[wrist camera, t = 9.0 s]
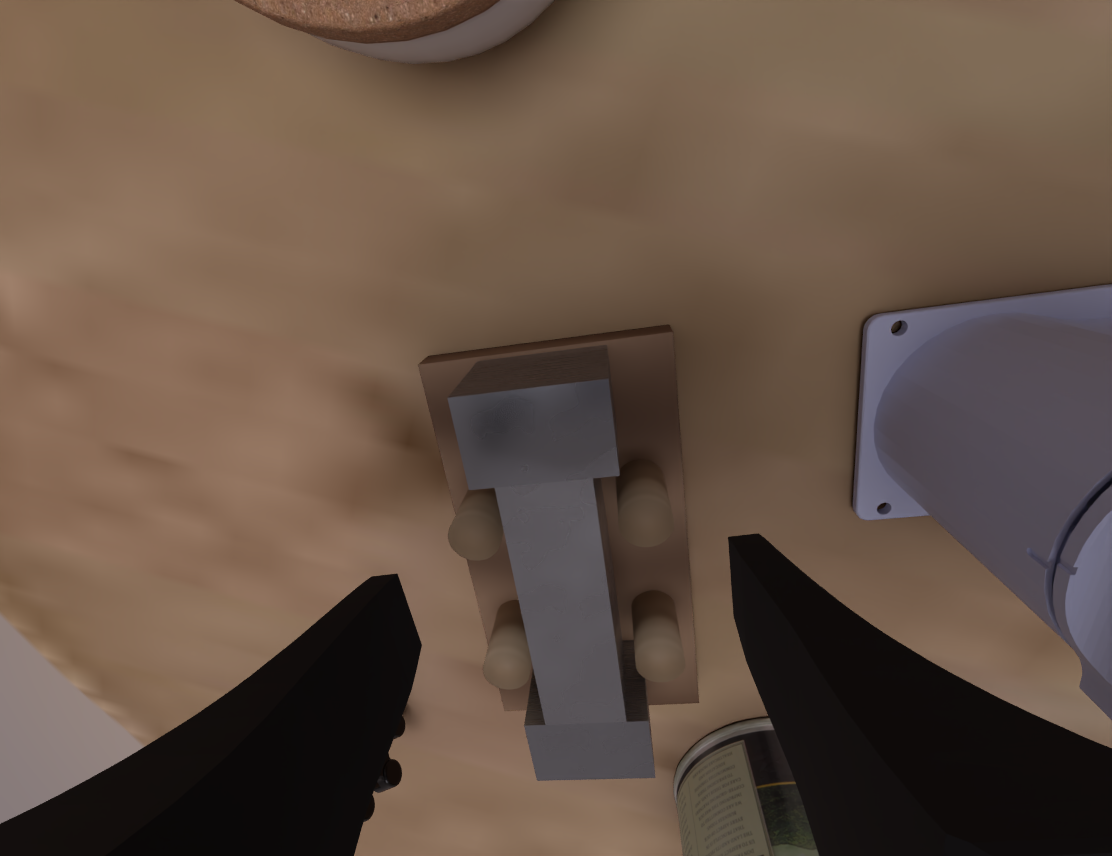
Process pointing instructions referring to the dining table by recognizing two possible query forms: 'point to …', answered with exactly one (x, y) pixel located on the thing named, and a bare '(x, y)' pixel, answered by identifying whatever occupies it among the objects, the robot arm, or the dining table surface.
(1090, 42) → the dining table surface
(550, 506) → the metal i-beam
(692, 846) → the coffee can
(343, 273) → the dining table surface
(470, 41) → the lidded jar
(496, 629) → the peg rack
